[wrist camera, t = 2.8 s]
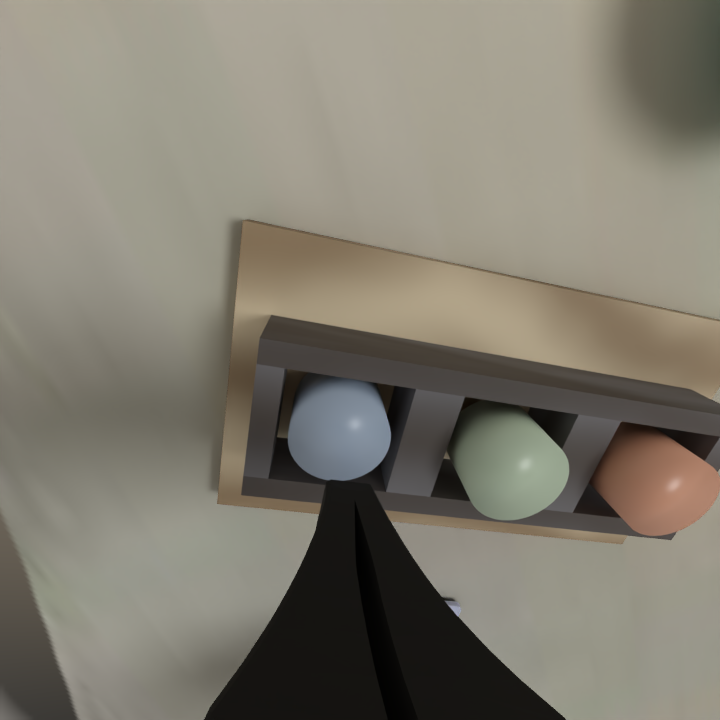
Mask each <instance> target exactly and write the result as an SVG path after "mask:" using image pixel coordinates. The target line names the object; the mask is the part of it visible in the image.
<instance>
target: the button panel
mask: <svg viewBox="0 0 720 720" xmlns="http://www.w3.org/2000/svg"><path fill="white" fill-rule="evenodd" d="M309 372H310V373H317V374H323V375H329V376H336V377H342V378H349V379H355V380H361V381H368V382H374V383H377V385H378V388H379V391H380V394H381V398H382V401H383V405H384V408H385V412H386V415H387V419H388V423H389V426H390V431H391V441H390V446H389V449H388V452H387V454H386V455H385V457H384V459H383V460H382V461H381V462H380V464H379V465H378V466H377V467H375V468H374V469H373V470H372V471H370V472H368V473H367V474H365V475H363V476H361V477H358V478H355V479H351V480H345V481H349V482H358V483H367V484H370V485H371V486H372V487H373V489H374V491H375V493H376V495H377V497H378V499H379V501H380V503H381V505H382V507H383V509H384V511H385V512H386V514H387V516H388V518H389V520H390V521H394V522H404V523H414V524H424V525H434V526H444V527H454V528H464V529H474V530H484V531H494V532H504V533H514V534H524V535H534V536H544V537H554V538H564V539H574V540H584V541H594V542H605V543H615V544H623V542H624V540H625V539H626V537H627V535H628V536H637V537H647V538H657V539H666V540H672V538H673V537H674V535H675V534H676V532H674V533H671V534H667V535H661V536H648V535H643V534H640V533H638V532H636V531H634V530H633V529H632V528H631V527H630V526H629V525H628V524H627V523H626V522H625V521H624V520H623V519H622V518H621V517H620V516H619V515H618V513H617V512H616V511H615V510H614V509H613V508H612V507H611V506H610V505H609V504H608V503H607V502H606V501H605V500H604V499H603V497H602V496H601V495H600V494H599V493H598V492H597V491H596V490H595V489H594V488H593V487H592V486H591V485H590V484H589V481H590V479H591V477H592V475H593V473H594V471H595V470H596V468H597V466H598V464H599V462H600V460H601V458H602V456H603V455H604V453H605V451H606V449H607V447H608V445H609V443H610V441H611V440H612V438H613V436H614V434H615V432H616V430H617V428H618V426H619V424H620V423H621V422H630V423H636V424H642V425H649V426H654V427H655V428H656V429H658V430H659V431H661V432H662V433H664V434H665V435H667V436H668V437H670V438H671V439H673V440H674V441H676V442H677V443H679V444H680V445H681V446H683V447H684V448H686V449H687V450H689V451H690V452H692V453H693V454H695V455H696V456H698V457H699V458H701V459H702V460H704V461H705V462H707V463H708V464H709V465H711V466H712V467H713V468H714V469H715V470H716V471H717V472H718V470H719V469H720V404H719V403H717V402H715V401H713V400H712V398H713V396H714V395H715V393H716V392H717V390H718V388H719V387H720V320H717V319H712V318H707V317H703V316H698V315H693V314H689V313H684V312H679V311H675V310H670V309H665V308H661V307H656V306H651V305H646V304H642V303H637V302H632V301H628V300H623V299H618V298H614V297H609V296H604V295H600V294H595V293H590V292H585V291H581V290H576V289H571V288H567V287H562V286H557V285H553V284H548V283H543V282H539V281H534V280H529V279H524V278H520V277H515V276H510V275H506V274H501V273H496V272H492V271H487V270H482V269H478V268H473V267H468V266H463V265H459V264H454V263H449V262H445V261H440V260H435V259H431V258H426V257H421V256H417V255H412V254H407V253H402V252H398V251H393V250H388V249H384V248H379V247H374V246H370V245H365V244H360V243H356V242H351V241H346V240H341V239H337V238H332V237H327V236H323V235H318V234H313V233H309V232H304V231H299V230H295V229H290V228H285V227H281V226H276V225H271V224H266V223H262V222H257V221H252V220H243V224H242V235H241V246H240V257H239V268H238V279H237V290H236V301H235V312H234V323H233V335H232V346H231V357H230V368H229V379H228V390H227V401H226V412H225V423H224V434H223V445H222V456H221V467H220V478H219V489H218V500H217V504H223V505H233V506H243V507H254V508H264V509H274V510H284V511H294V512H304V513H314V514H319V512H320V508H321V503H322V499H323V494H324V489H325V485H326V482H327V481H329V480H324V479H321V478H317V477H315V476H313V475H311V474H309V473H307V472H306V471H304V470H303V469H302V468H301V467H300V466H299V465H298V464H297V463H296V462H295V460H294V459H293V457H292V455H291V453H290V450H289V446H288V431H289V425H290V419H291V414H292V408H293V402H294V396H295V392H296V389H297V387H298V385H299V383H300V381H301V380H302V379H303V378H304V376H306V375H307V374H308V373H309ZM482 400H489V401H495V402H502V403H508V404H515V405H519V406H520V407H521V408H522V409H523V410H524V411H525V412H526V413H527V414H528V415H529V416H530V417H531V418H532V419H533V420H534V421H535V422H536V423H537V424H538V425H539V426H540V427H541V428H542V429H543V430H544V432H545V433H546V434H547V435H548V436H549V437H550V438H551V439H552V440H553V441H554V442H555V443H556V444H557V445H558V446H559V447H560V448H561V449H562V450H563V452H564V453H565V455H566V457H567V459H568V463H569V476H568V480H567V483H566V485H565V487H564V489H563V491H562V492H561V493H560V495H559V496H558V497H557V498H556V499H555V501H554V502H552V503H551V504H550V505H549V506H548V507H546V508H545V509H543V510H542V511H540V512H538V513H536V514H534V515H532V516H529V517H526V518H522V519H517V520H497V519H493V518H490V517H487V516H485V515H483V514H482V513H480V512H479V511H478V510H477V509H476V508H475V507H474V506H473V504H472V502H471V501H470V499H469V496H468V494H467V492H466V490H465V488H464V486H463V484H462V482H461V480H460V478H459V476H458V474H457V472H456V470H455V468H454V466H453V463H452V461H451V459H450V457H449V455H448V453H447V447H448V444H449V441H450V439H451V436H452V433H453V430H454V427H455V424H456V421H457V419H458V416H459V413H460V412H461V411H462V410H464V409H465V408H467V407H468V406H470V405H472V404H474V403H476V402H479V401H482Z"/></svg>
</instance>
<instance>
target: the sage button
mask: <svg viewBox="0 0 720 720" xmlns="http://www.w3.org/2000/svg"><path fill="white" fill-rule="evenodd" d="M447 453H448V455H449V457H450V459H451V461H452V463H453V466H454V468H455V470H456V472H457V474H458V476H459V478H460V480H461V482H462V484H463V486H464V488H465V490H466V492H467V494H468V496H469V499H470V501H471V502H472V504H473V506H474V507H475V508H476V509H477V510H478V511H479V512H480V513H482V514H483V515H485V516H487V517H490V518H493V519H497V520H517V519H522V518H526V517H529V516H532V515H534V514H536V513H538V512H540V511H542V510H543V509H545V508H546V507H548V506H549V505H550V504H551V503H552V502H554V501H555V499H556V498H557V497H558V496H559V495H560V493H561V492H562V491H563V489H564V487H565V485H566V483H567V480H568V476H569V463H568V459H567V457H566V455H565V453H564V452H563V450H562V449H561V448H560V447H559V446H558V445H557V444H556V443H555V442H554V441H553V440H552V439H551V438H550V437H549V436H548V435H547V434H546V433H545V432H544V430H543V429H542V428H541V427H540V426H539V425H538V424H537V423H536V422H535V421H534V420H533V419H532V418H531V417H530V416H529V415H528V414H527V413H526V412H525V411H524V410H523V409H522V408H521V407H520V406H519V405H515V404H508V403H502V402H495V401H489V400H482V401H479V402H476V403H474V404H472V405H470V406H468V407H467V408H465V409H464V410H462V411H461V412H460V413H459V416H458V419H457V421H456V424H455V427H454V430H453V433H452V436H451V439H450V441H449V444H448V447H447Z"/></svg>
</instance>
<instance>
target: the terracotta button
mask: <svg viewBox="0 0 720 720" xmlns="http://www.w3.org/2000/svg"><path fill="white" fill-rule="evenodd" d="M589 484H590V485H591V486H592V487H593V488H594V489H595V490H596V491H597V492H598V493H599V494H600V495H601V496H602V497H603V499H604V500H605V501H606V502H607V503H608V504H609V505H610V506H611V507H612V508H613V509H614V510H615V511H616V512H617V513H618V515H619V516H620V517H621V518H622V519H623V520H624V521H625V522H626V523H627V524H628V525H629V526H630V527H631V528H632V529H633V530H634V531H636V532H638V533H640V534H643V535H648V536H661V535H667V534H671V533H674V532H677V531H679V530H682V529H684V528H686V527H688V526H689V525H691V524H692V523H694V522H695V521H697V520H698V519H699V518H701V517H702V516H703V515H704V514H705V513H706V512H707V511H708V510H709V509H710V507H711V506H712V505H713V503H714V501H715V500H716V498H717V496H718V493H719V489H720V478H719V475H718V473H717V471H716V470H715V469H714V468H713V467H712V466H711V465H709V464H708V463H707V462H705V461H704V460H702V459H701V458H699V457H698V456H696V455H695V454H693V453H692V452H690V451H689V450H687V449H686V448H684V447H683V446H681V445H680V444H679V443H677V442H676V441H674V440H673V439H671V438H670V437H668V436H667V435H665V434H664V433H662V432H661V431H659V430H658V429H656V428H655V427H654V426H649V425H642V424H636V423H630V422H621V423H620V424H619V426H618V428H617V430H616V432H615V434H614V436H613V438H612V440H611V441H610V443H609V445H608V447H607V449H606V451H605V453H604V455H603V456H602V458H601V460H600V462H599V464H598V466H597V468H596V470H595V471H594V473H593V475H592V477H591V479H590V481H589Z"/></svg>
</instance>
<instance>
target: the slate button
mask: <svg viewBox="0 0 720 720" xmlns="http://www.w3.org/2000/svg"><path fill="white" fill-rule="evenodd" d="M390 441H391V431H390V426H389V423H388V419H387V415H386V412H385V408H384V405H383V401H382V398H381V394H380V391H379V388H378V385H377V383H374V382H368V381H361V380H355V379H349V378H342V377H336V376H329V375H323V374H317V373H310V372H309V373H308V374H307V375H306V376H304V378H303V379H302V380H301V381H300V383H299V385H298V387H297V389H296V392H295V396H294V402H293V408H292V414H291V419H290V425H289V431H288V446H289V450H290V453H291V455H292V457H293V459H294V460H295V462H296V463H297V464H298V465H299V466H300V467H301V468H302V469H303V470H304V471H306V472H307V473H309V474H311V475H313V476H315V477H317V478H321V479H324V480H330V479H332V480H341V481H345V480H351V479H355V478H358V477H361V476H363V475H365V474H367V473H368V472H370V471H372V470H373V469H374V468H375V467H377V466H378V465H379V464H380V462H381V461H382V460H383V459H384V457H385V455H386V454H387V452H388V449H389V446H390Z"/></svg>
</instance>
